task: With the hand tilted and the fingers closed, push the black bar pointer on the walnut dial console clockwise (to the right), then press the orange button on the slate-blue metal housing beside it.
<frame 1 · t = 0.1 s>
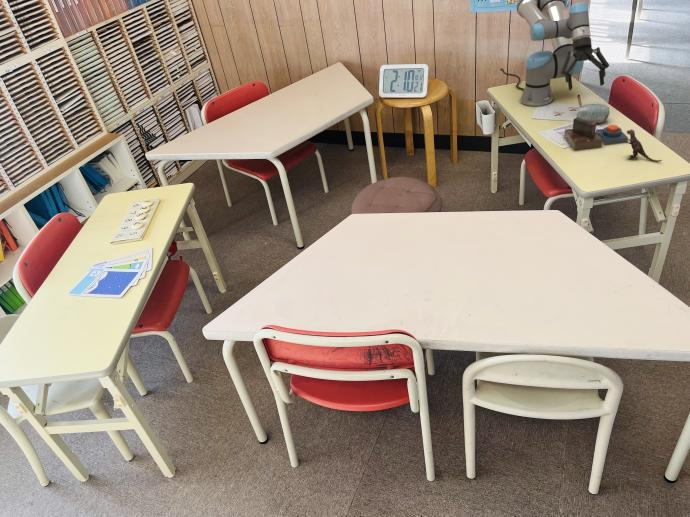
hand: (586, 87, 237), 15 cm above the table, tool tilted 35°, fingers open, 13 cm apart
grey striped ovoid: (591, 122, 243), on the table
dinosaur model: (641, 159, 211), on the table
buzzer: (611, 138, 228), on the table
button: (612, 128, 225), point 4 cm above the table, slide at 0.1 cm
dial console: (582, 142, 229), on the table
pointer: (584, 127, 225), point 7 cm above the table, hinge at 30.0°
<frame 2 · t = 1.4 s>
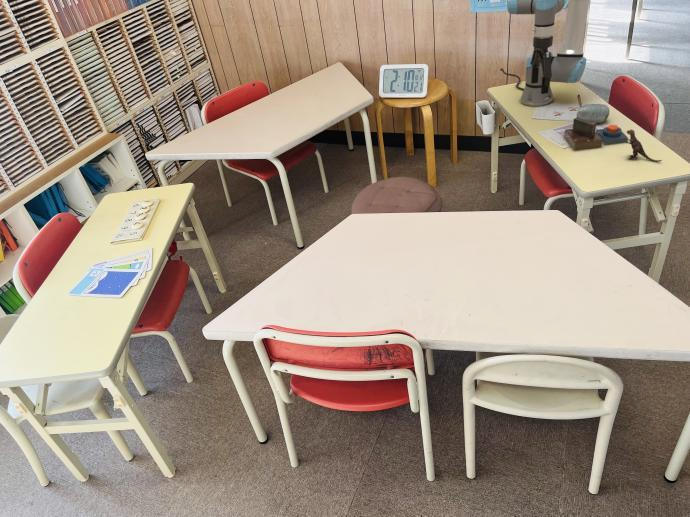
hand: (539, 88, 227), 22 cm above the table, tool pointing down, fingers open, 13 cm apart
nothing on the table moved.
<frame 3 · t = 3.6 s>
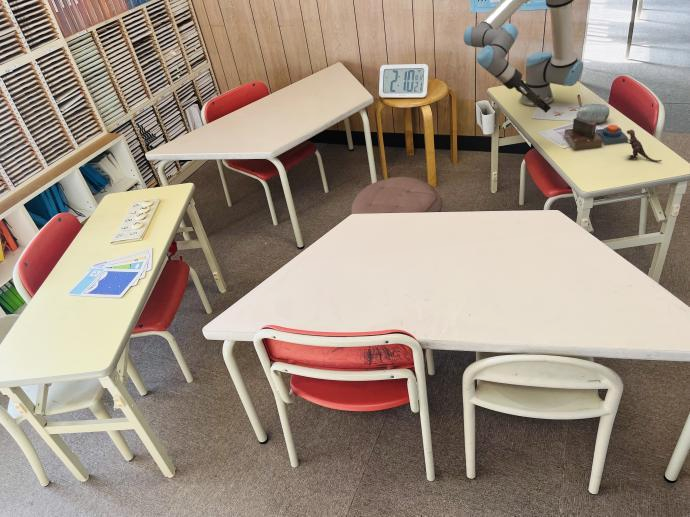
hand: (547, 109, 224), 16 cm above the table, tool tilted 45°, fingers closed
nothing on the table moved.
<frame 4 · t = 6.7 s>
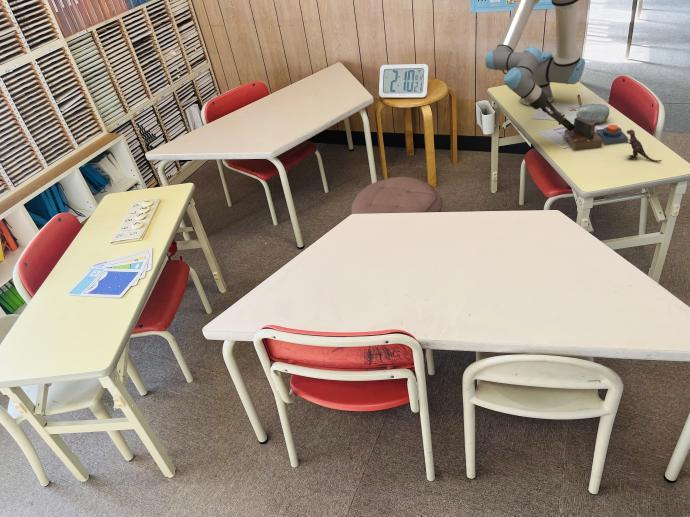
hand: (572, 128, 229), 5 cm above the table, tool tilted 45°, fingers closed
pointer: (584, 127, 225), point 7 cm above the table, hinge at 22.7°, touching gripper
everything else where it was.
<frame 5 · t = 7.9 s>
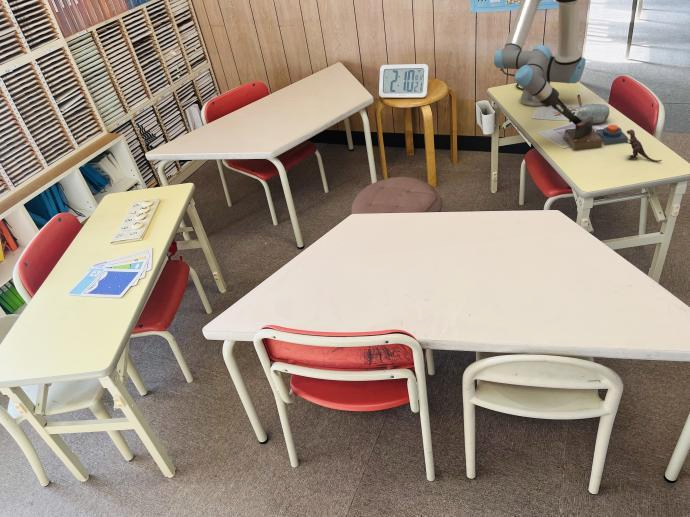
hand: (582, 126, 229), 5 cm above the table, tool tilted 45°, fingers closed
pointer: (584, 127, 225), point 7 cm above the table, hinge at -49.6°
everything else where it was.
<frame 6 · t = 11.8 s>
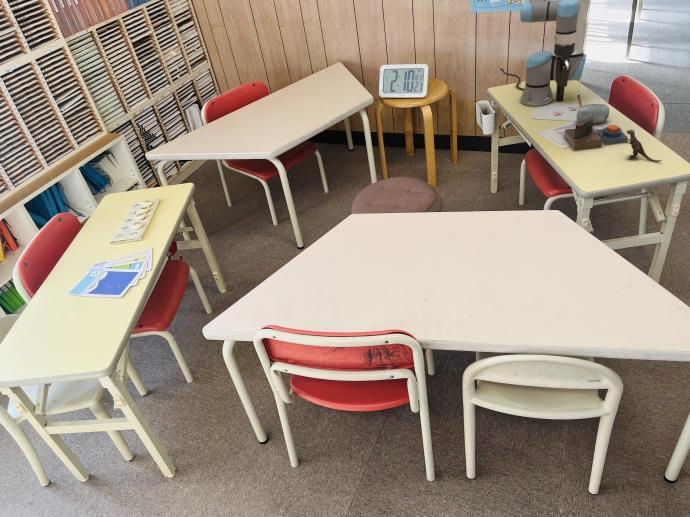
hand: (559, 101, 223), 18 cm above the table, tool pointing down, fingers closed
pointer: (584, 127, 225), point 7 cm above the table, hinge at -50.9°
everything else where it was.
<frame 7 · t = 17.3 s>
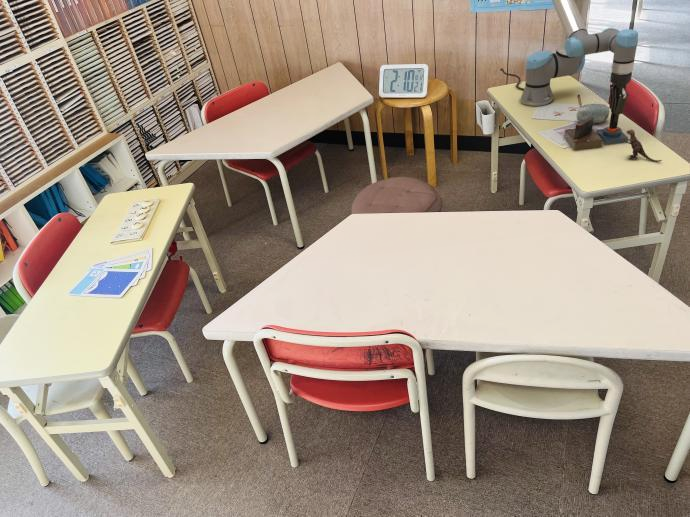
hand: (613, 127, 225), 5 cm above the table, tool pointing down, fingers closed
button: (612, 129, 226), point 4 cm above the table, slide at -0.4 cm, touching gripper
everything else where it was.
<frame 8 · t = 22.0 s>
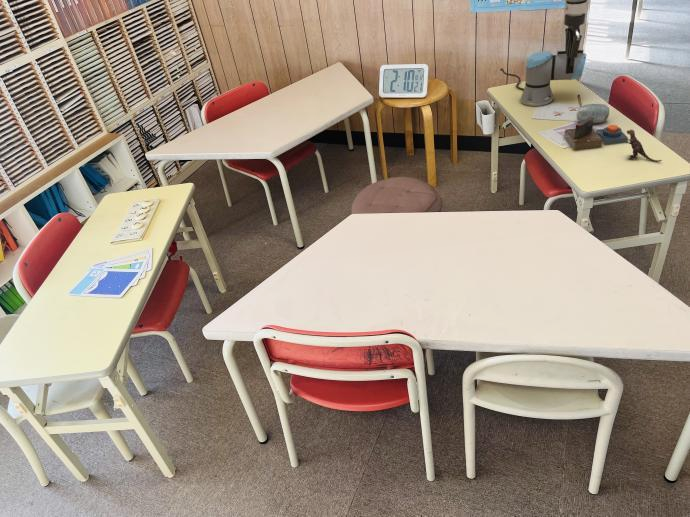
hand: (569, 72, 224), 26 cm above the table, tool pointing down, fingers closed
button: (612, 128, 225), point 4 cm above the table, slide at 0.1 cm
everything else where it was.
at the end: pointer at -51° (first picture: +30°); button pushed in 0.8 cm at the most during the clip, back to where it started at the end; button slide at 0.1 cm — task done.
